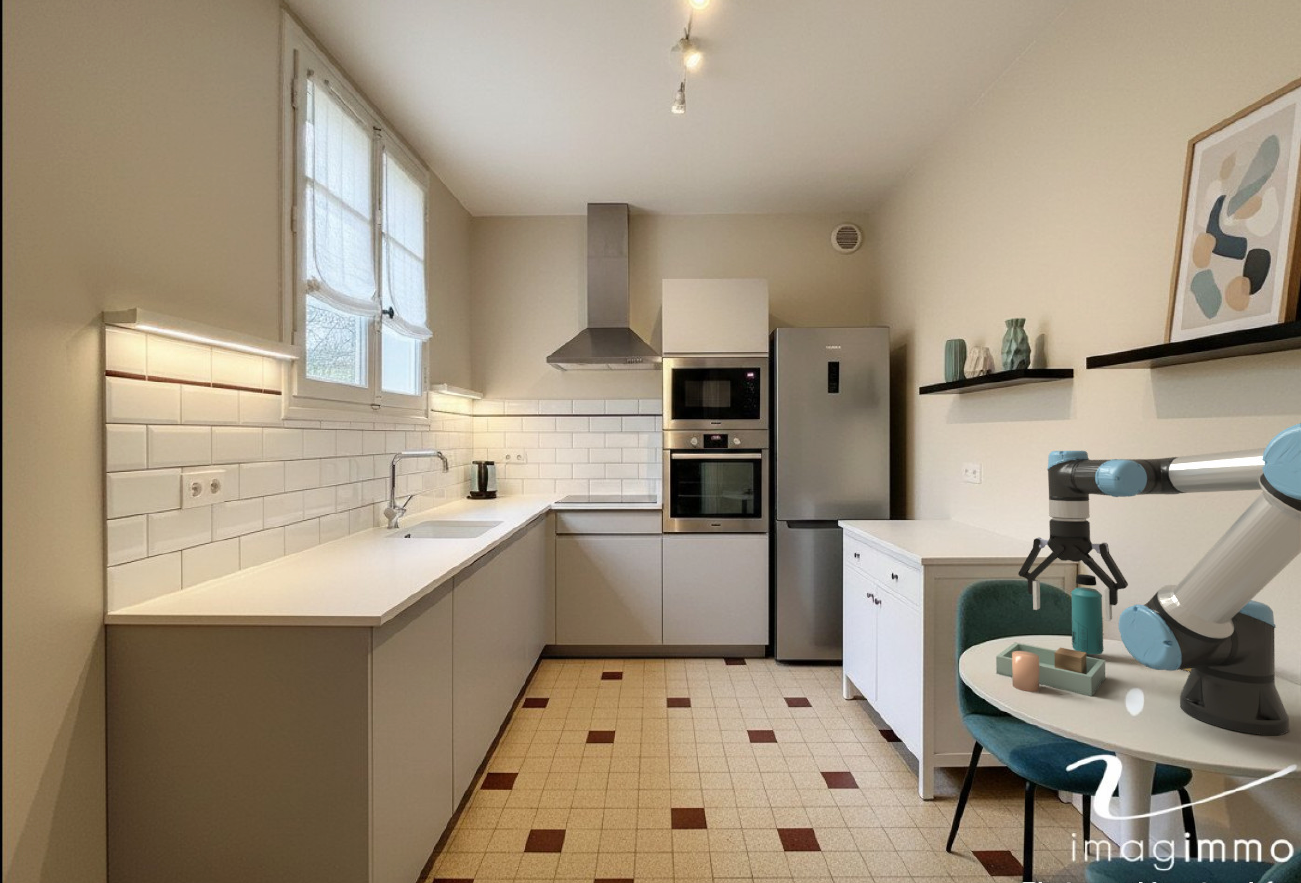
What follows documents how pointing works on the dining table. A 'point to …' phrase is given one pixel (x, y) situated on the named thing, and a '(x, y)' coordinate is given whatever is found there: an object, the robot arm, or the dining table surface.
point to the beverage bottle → (1087, 617)
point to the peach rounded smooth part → (1025, 671)
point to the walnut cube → (1071, 660)
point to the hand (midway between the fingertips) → (1071, 614)
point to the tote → (1055, 670)
